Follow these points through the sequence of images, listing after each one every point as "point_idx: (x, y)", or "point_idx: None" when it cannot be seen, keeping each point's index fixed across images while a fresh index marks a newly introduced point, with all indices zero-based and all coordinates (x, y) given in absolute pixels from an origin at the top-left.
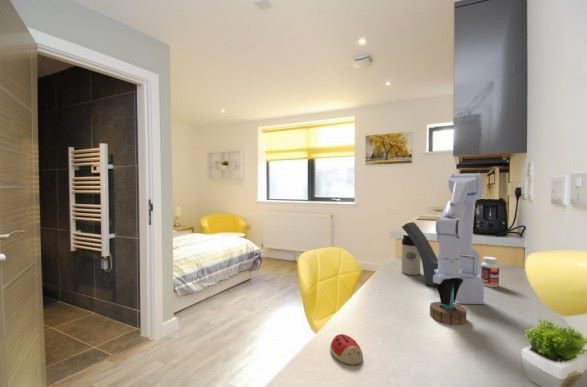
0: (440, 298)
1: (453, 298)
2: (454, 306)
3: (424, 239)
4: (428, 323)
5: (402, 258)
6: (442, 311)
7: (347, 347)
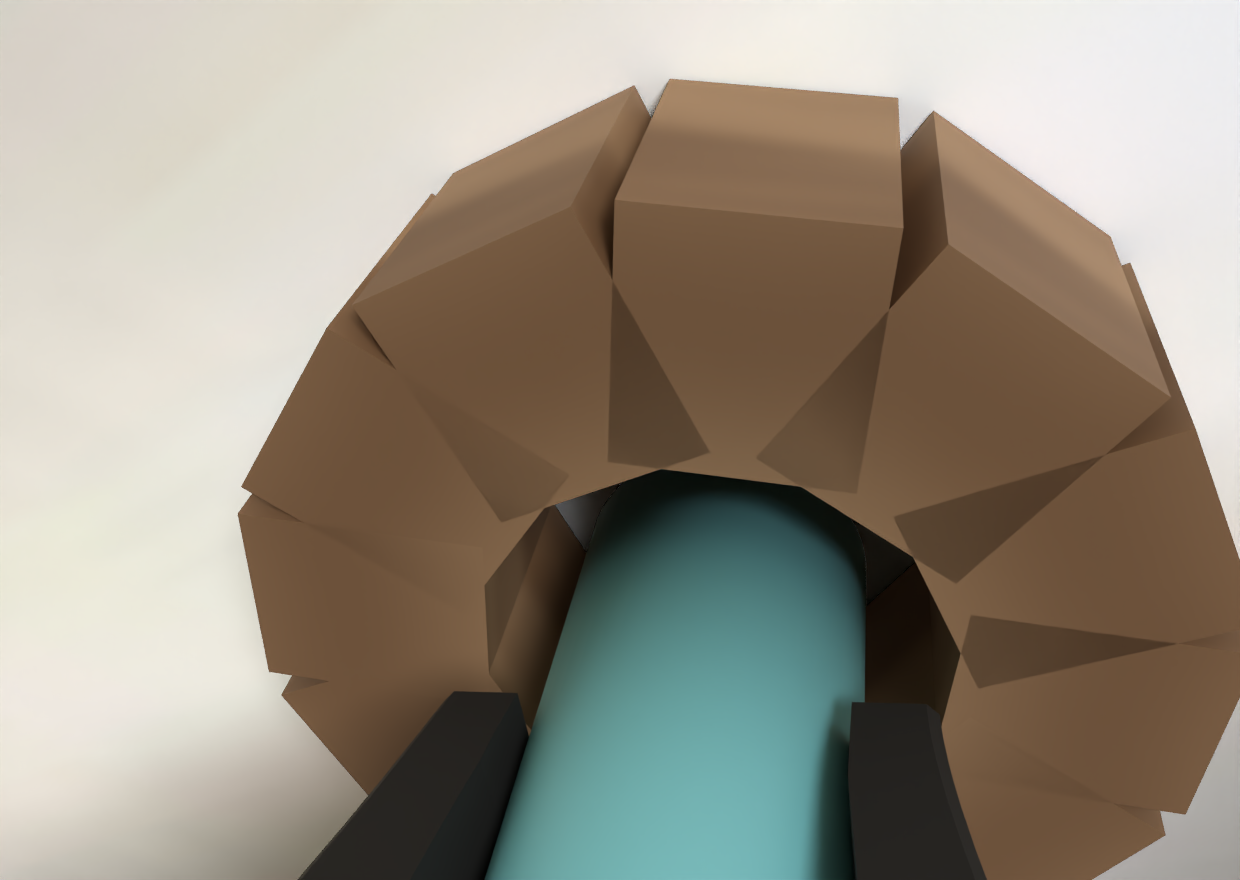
0: (364, 815)
1: None
2: (976, 726)
3: None
4: (77, 399)
5: None
6: (330, 684)
7: None
